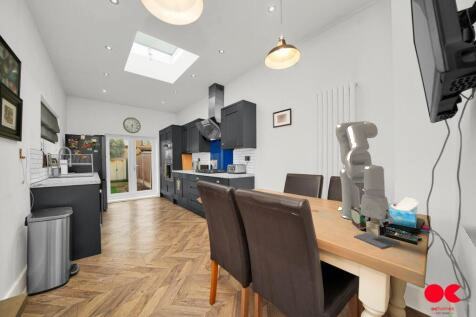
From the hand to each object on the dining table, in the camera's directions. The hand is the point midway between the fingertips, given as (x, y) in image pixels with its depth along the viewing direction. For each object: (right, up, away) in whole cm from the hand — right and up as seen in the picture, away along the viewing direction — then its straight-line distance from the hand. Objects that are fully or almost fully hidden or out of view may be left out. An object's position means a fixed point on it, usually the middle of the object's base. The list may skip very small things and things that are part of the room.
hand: (375, 232), depth 81 cm
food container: (+4, -4, +15) cm, 17 cm away
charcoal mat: (0, -4, 0) cm, 4 cm away
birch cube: (0, -1, 0) cm, 1 cm away
